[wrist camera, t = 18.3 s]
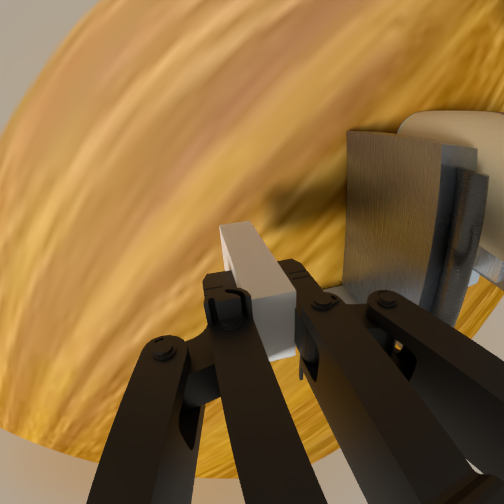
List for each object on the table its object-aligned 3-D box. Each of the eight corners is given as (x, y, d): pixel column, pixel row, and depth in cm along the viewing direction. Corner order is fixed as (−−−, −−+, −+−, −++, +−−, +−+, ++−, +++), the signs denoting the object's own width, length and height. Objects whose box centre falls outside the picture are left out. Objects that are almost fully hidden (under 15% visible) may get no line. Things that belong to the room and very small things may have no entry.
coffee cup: (469, 148, 20) (577, 185, 9) (427, 233, 22) (533, 301, 11) (413, 77, 16) (554, 82, 5) (360, 175, 18) (511, 241, 8)
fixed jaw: (456, 139, 19) (530, 158, 12) (476, 142, 19) (543, 161, 12) (443, 254, 24) (502, 294, 16) (463, 248, 24) (518, 283, 17)
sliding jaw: (346, 130, 16) (470, 150, 8) (389, 132, 17) (508, 156, 8) (341, 283, 21) (419, 370, 12) (380, 274, 22) (460, 347, 13)
